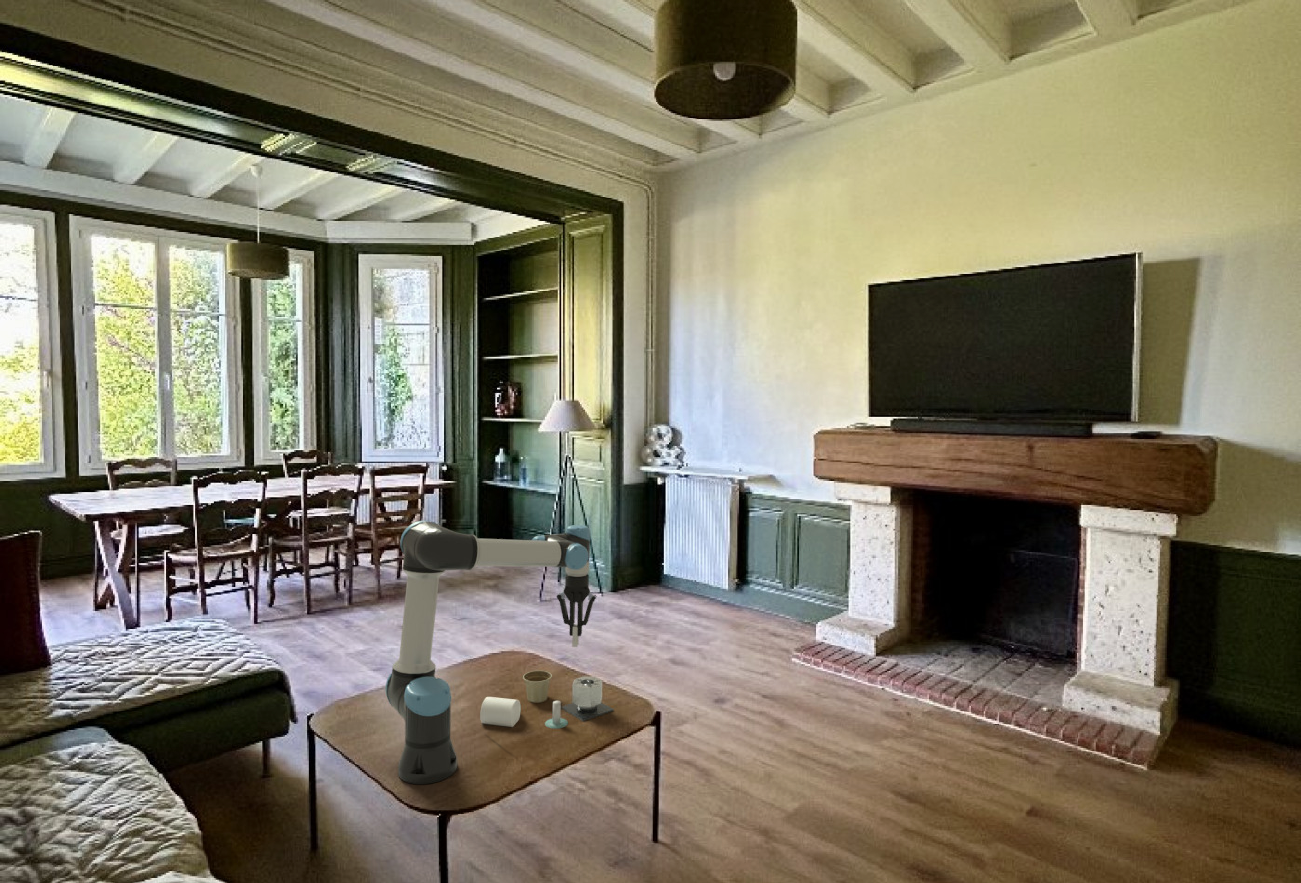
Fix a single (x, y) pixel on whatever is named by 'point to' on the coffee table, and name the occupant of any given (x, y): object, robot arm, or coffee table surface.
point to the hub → (587, 710)
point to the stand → (556, 717)
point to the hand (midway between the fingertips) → (575, 645)
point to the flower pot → (537, 685)
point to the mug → (500, 711)
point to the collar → (587, 691)
